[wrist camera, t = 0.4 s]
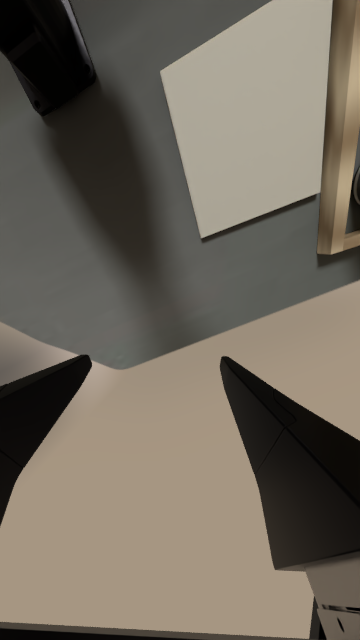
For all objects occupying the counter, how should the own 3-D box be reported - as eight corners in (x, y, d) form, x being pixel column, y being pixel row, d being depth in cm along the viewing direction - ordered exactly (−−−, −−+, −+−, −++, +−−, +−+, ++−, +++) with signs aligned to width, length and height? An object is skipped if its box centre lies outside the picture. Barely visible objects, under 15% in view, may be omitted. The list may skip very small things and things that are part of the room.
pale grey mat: (161, 78, 13) (160, 71, 12) (327, -25, 11) (334, -40, 10) (200, 238, 18) (201, 238, 18) (315, 193, 16) (320, 192, 15)
